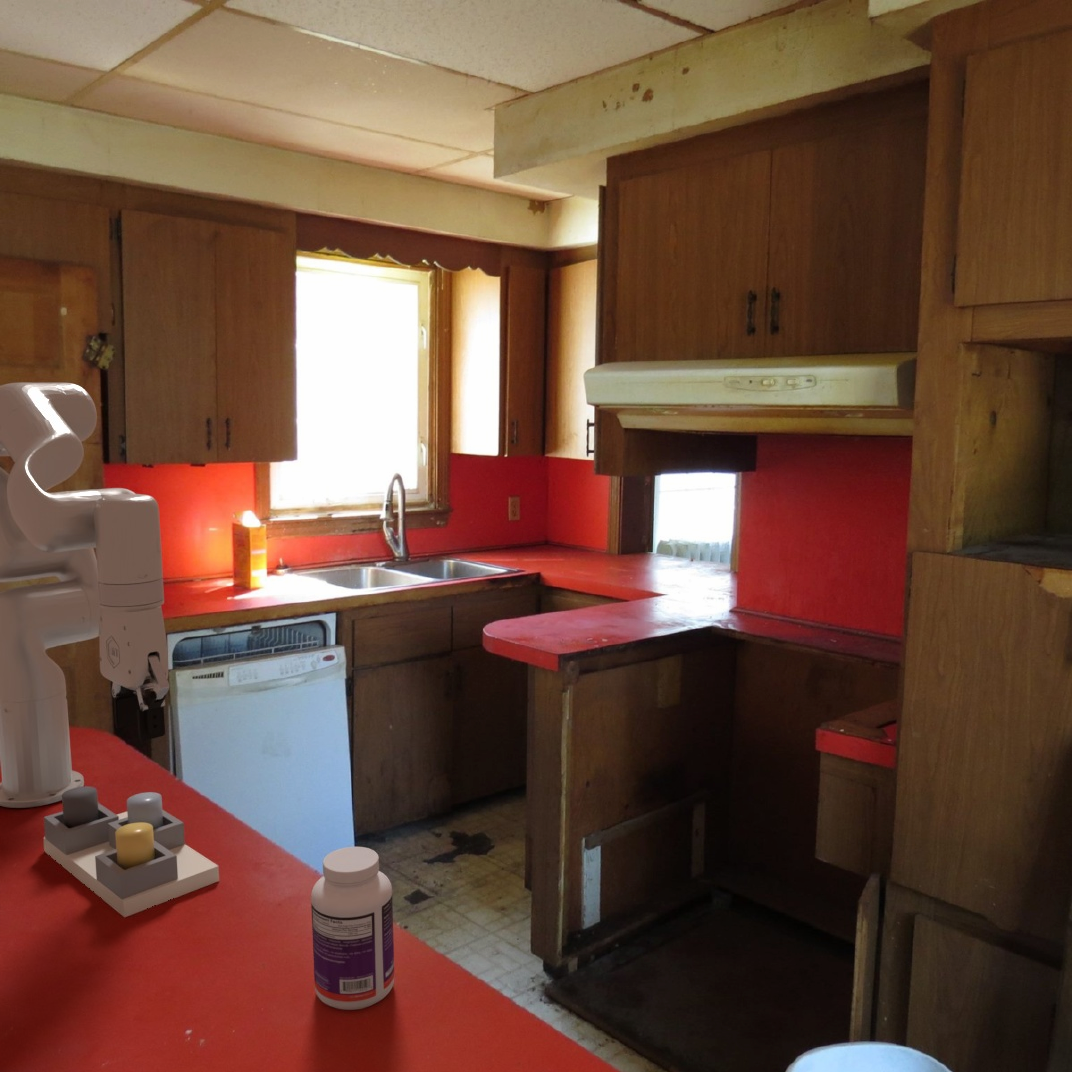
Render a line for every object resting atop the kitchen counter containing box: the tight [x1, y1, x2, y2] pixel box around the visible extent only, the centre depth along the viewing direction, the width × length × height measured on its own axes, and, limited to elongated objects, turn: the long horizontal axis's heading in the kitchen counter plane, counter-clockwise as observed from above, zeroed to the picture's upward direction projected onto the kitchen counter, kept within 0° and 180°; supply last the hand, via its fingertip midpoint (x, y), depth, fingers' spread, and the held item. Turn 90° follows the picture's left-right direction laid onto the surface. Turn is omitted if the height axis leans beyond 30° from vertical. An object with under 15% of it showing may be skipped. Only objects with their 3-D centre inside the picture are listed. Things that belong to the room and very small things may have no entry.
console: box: [42, 802, 220, 918], centre depth 129 cm, size 24×12×5 cm, turn 46°
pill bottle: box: [310, 846, 395, 1011], centre depth 102 cm, size 8×8×14 cm
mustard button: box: [115, 822, 155, 869], centre depth 121 cm, size 4×4×4 cm
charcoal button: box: [61, 785, 99, 828], centre depth 132 cm, size 4×4×4 cm
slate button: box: [126, 791, 163, 829], centre depth 130 cm, size 4×4×4 cm
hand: (140, 730), depth 128 cm, fingers open, 5 cm apart
